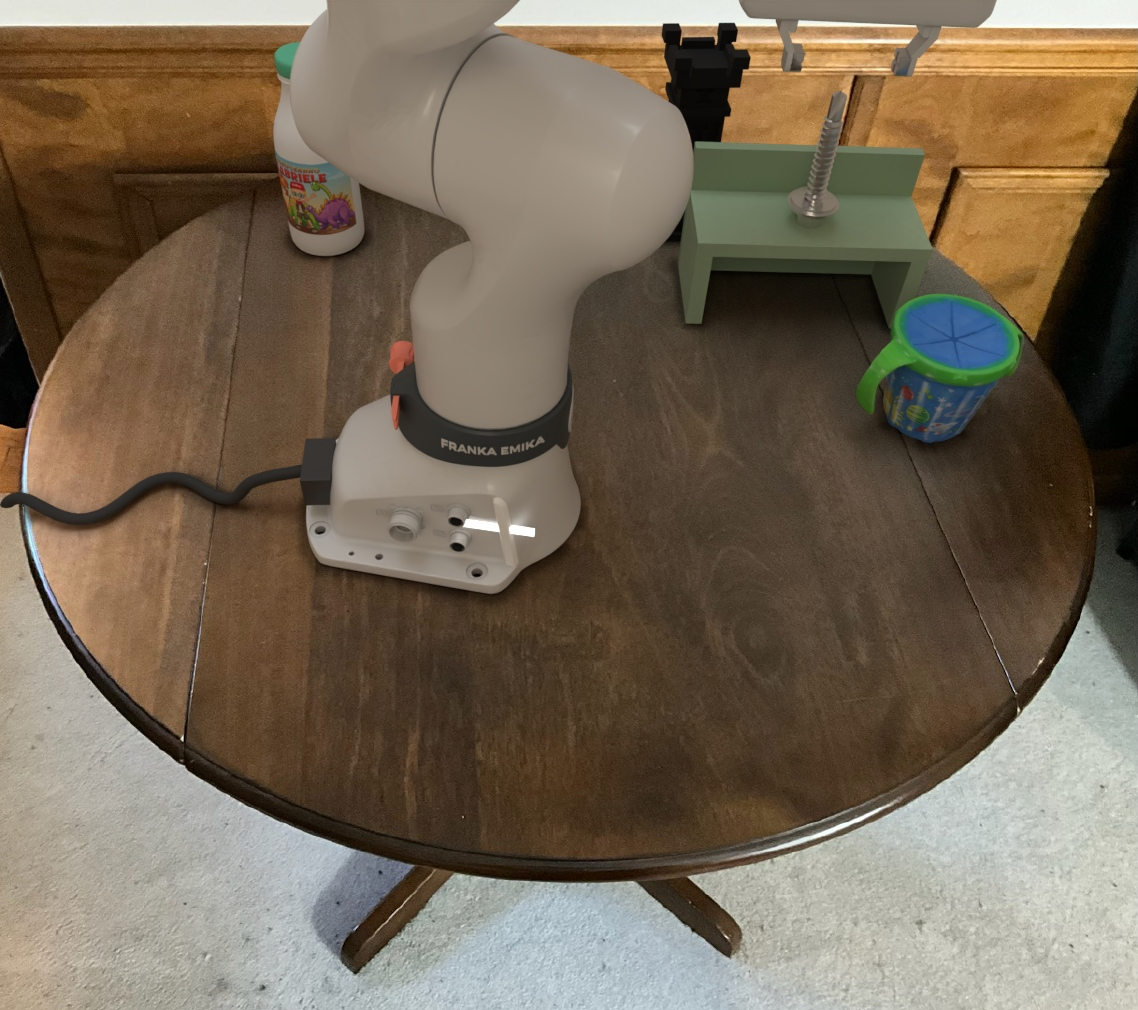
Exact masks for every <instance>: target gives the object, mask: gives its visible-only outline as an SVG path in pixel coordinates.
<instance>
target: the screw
mask: <svg viewBox="0 0 1138 1010" xmlns="http://www.w3.org/2000/svg"><path fill="white" fill-rule="evenodd" d="M847 100H848V95H847V94H846V93H845V92H843V90H839V91H834V92H832V94H831V98H830V102H829V106H828V110H827V113H826V115H825V116H824V117H823V120H824V122H822V123H821V127H822V128H820V130H819V132H820V134H819V135H818V139H819V140H818V141H817V142H816V145H819V146H818V147H816V151H817V153H815V154H814V156H815V157H816V158H815V159H813V163H814V164H813V165H812V166H811V167H812V169H813V170H811V171H810V174H811V176H810V177H809V180H810V181H809V182H808V183H807V185H808V186H805V187H800V188H798V189H795V190H793V191H792V192H791V193H789V195H788V198H787V205H788V207H789V208H790V209H791V210H792V211H793V212H794V213H796V215H795V216H796V223H797V224H798V225H801V226H804V227H806V228H809V229H811V228H815V227H818V226H822V224H823V220H824V219H826V218H830V217H832V216H834V215H835V214H836V213H837V212H838V209H839V202H838V200H837V198H836V197H835V196H834V195H833V194H832V193H831V192H829V191H827V186H828V181H829V179H830V176H829V175H830V174H831V169H832V168H833V165H832V164H833V163H834V157H835V156H836V153H835V152H836V151H837V146H839V143H840V141H839V140H840V139H841V133H842V132H843V128H842V127H843V126H844V122H843V120H842V119H843V115H844V111H845V107H846V103H847Z"/></svg>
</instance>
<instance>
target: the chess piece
mask: <svg viewBox="0 0 1138 1010" xmlns="http://www.w3.org/2000/svg"><path fill="white" fill-rule="evenodd" d="M682 32H683V29H682V28H681V25H680V23H679V22H678V23H677V22H669V23H668V22H667V23H666V22H663V23H662V27H661V39H662V41H663V43H664V44H665V45H664V53H663V54H664V55H663V59H664V61H665V65H666V67H667V69H668V73H669V75H670V81H666V82H665V87H664V89H665V90H664V91H665V94H666V96H667V101H668V102H670V103H671V104H673V105H675V106H676V107H677V108H678V109H679V110H680V112H681V114H682V116H683V118H684V120H685V123H686V125H687V128H688V131H689V135H690V138H691V143H692V149H693V152H694V145H695V142H722V138H723V134H724V133H723V132H724V125H725V121H726V120H725V119H726V118H730V117H731V114H732V107H731V104H730V102H729V96H730V89H740V88H741V86H742V81H743V74H744V71H746V70H747V71H749V70H750V64H751V55H750V53H749V51H748V49H747V48H745V49H744V48H743V49H742V48H741V49H740V48H739V49H738V48H737V49H736V48H735V46H734V44H733V43H737V40H738V33H739V29H738V26H737V25H736V23H735V22H718V24H717V31H716V32H717V33H716V36H717V38H716V39H717V40H716V39H715V36H682ZM684 215H685V211H684V213H683V215H682V217H681V219H680V221H679V223H678V224H677V226H676V228H675V229H674V231H673V232H672V234H671V235H670V236H669V237H668V239H667V240H666V241H665V242H681V236H682V229H683V222H684Z"/></svg>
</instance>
